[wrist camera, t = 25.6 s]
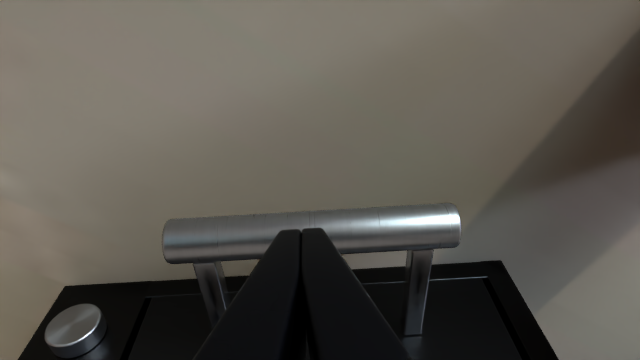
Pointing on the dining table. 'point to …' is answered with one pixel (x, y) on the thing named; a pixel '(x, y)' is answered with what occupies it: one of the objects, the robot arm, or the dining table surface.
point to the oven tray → (348, 237)
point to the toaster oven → (134, 297)
